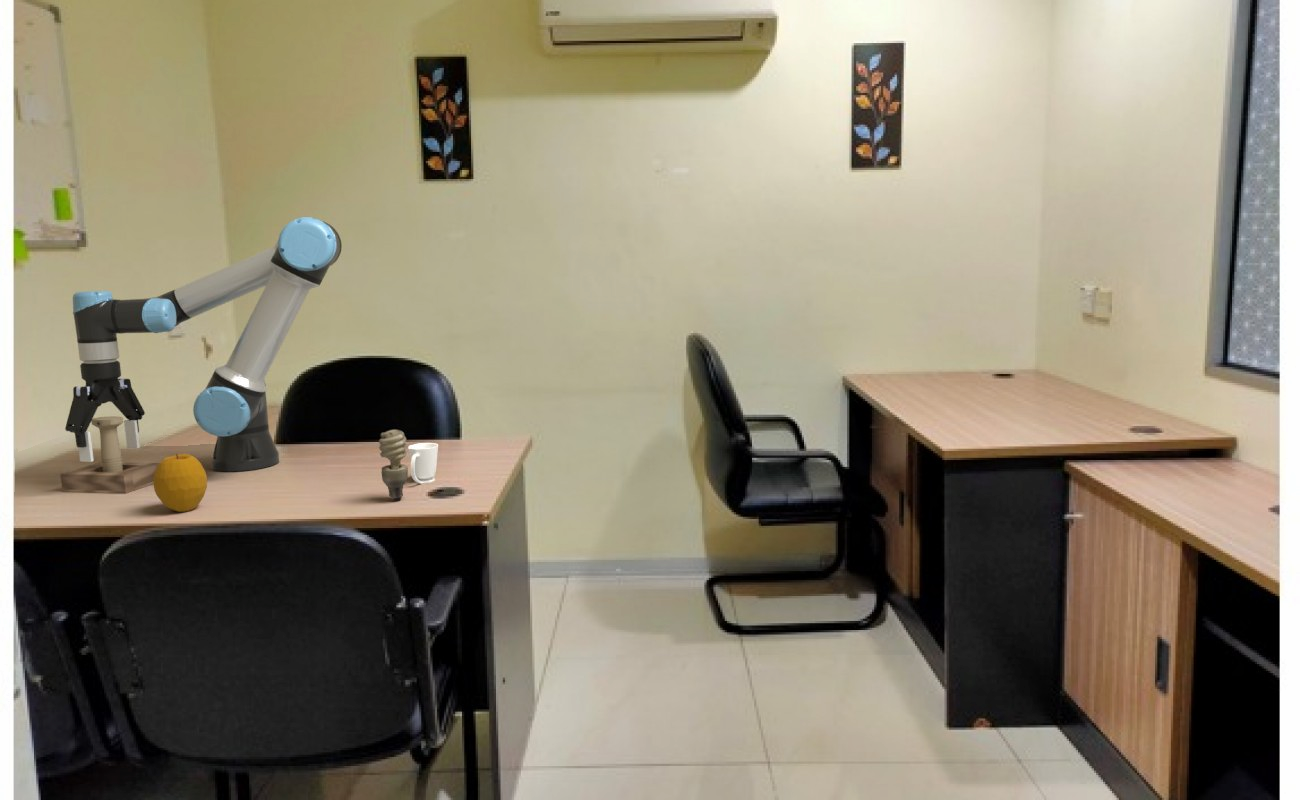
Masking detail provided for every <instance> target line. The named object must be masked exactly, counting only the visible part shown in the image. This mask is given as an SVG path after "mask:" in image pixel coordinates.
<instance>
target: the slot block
mask: <svg viewBox="0 0 1300 800" xmlns="http://www.w3.org/2000/svg"><path fill="white" fill-rule="evenodd" d="M159 463H160V462H135V461H134V462H133V461H128V462H127V461H122V466H123V471H120V472H117V473H113V472H103V471H104V470H103V467H102V461H100V462H95V463H94V464H91V465H86V466H82V467H80V468H79V467H78V468H76V469H73V470H70V471H69V470H68V471H67V472H63V473H60V474H59V476H60V483H61V491H62V492H63V493H64V492H66V493H68V492H69V493H71V492H72V493H94V494H95V493H97V494H98V493H99V494H128V493H132V492H135V491H136V490H139V489H143V488H146V487H148V486H151V485H154V484H153V480H154V474H155V471H156V468H157V466H158V465H159Z"/></svg>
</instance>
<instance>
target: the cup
mask: <svg viewBox="0 0 1300 800" xmlns="http://www.w3.org/2000/svg"><path fill="white" fill-rule="evenodd" d="M407 449H408V453H409V458H410V474H411V477H412V480H414V482H415V483H417V484H420V485H421V484H429V483H433V482H435V480H436V479H435V476H436V471H437V465H438V464H437V463H438V453H439V443H434V442H422V443H421V442H420V443H418V442H417V443H415V444H410V445H408V448H407Z"/></svg>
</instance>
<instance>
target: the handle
mask: <svg viewBox="0 0 1300 800" xmlns="http://www.w3.org/2000/svg"><path fill="white" fill-rule="evenodd" d="M123 423H124V417H122V416H116V415H115V416H111V415H110V416H100V417H99V416H98V417H93V419H92V421H91V425H92V426H94V427H95V428H98V429H99V436H100V453H101V454H100V457H101V462H102V467H103V470H104V471H103V472H113V473H117V472H120V471H123V466H122V462H123V458H122V452H121V446H120V441H119V435H118V427H119V426H120V425H122V424H123Z"/></svg>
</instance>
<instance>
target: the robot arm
mask: <svg viewBox="0 0 1300 800" xmlns="http://www.w3.org/2000/svg"><path fill="white" fill-rule="evenodd" d="M278 235H279V236H278V239H277V240H276V243H275V246H272V247H270V248H268V249H265V250H264V251H261V252H258V253H256V254H253V255H252V256H249V257H246V258H244V259H242V260H240V261H237V262H234V263H233V264H231V265H228V266H226V267H223V268H221V269H219V270H216V271H214V272H213V273H209V274H207V275H205V276H203V277H200V278H198V279H196V280H193V281H191V282H188V283H186V284H185V285H183V286H180V287H177V288H175V289H173V290H169V291H168V292H165V293H163V294H161V295H158V296H156V297H148V298H134V299H133V298H132V299H117V298H116V299H115V298H114V297H113V295H112V294H113V293H112V292H111V291H108V290H103V291H102V290H98V291H97V290H95V291H93V290H92V291H89V290H87V291H76V292H75V293H73V294H72V309H73V312H72V314H73V319H74V326H75V327H74V328H75V331H76V332H75V333H76V338H77V339H76V341H77V347H78V349H77V350H78V356H79V361H81V363H80V364H79V369H80V374H81V379H82V380H83V381H85V386H74V387H73V389H72V390H73V392H72V393H73V397H72V401H71V405H70V409H69V413H68V416H67V421H66V425H65V429H64V430H65V431H66V432H70V433H74V437H75V443H76V448H78V455H79V462H84V463H85V462H86V463H92V462H95V460H94V452H93V445H92V444H93V443H92V437H91V432H90V431H88V428H89V427H90V424H92V422H91V421H92V419H93V418H94V416H95V415H96V413H97V410H98V407H100V406H102V404H106V403H109V402H110V403H112V404H113V405H114V406H115V408H117V409H118V411H119V412H120V413H121V414H122V415H123V416H124V417H125V418H126V420H123V423H124V432H125V440H126V442H125V443H126V448H127V449H140V447H141V446H140V439H139V438H140V437H139V433H140V427H139V421H140V420H142V419H143V416H144V415H145V413H146V412H145V410H144V408H143V406H142V405H141V402H140V401H139V399H138V396H137V395H136V393H135V392H134V391H135V390H134V389H133V388H132V383H131V379H130V378H121V376H122V371H121V370H122V369H121V362H120V361H119V360H117V359H120V351H119V343H118V338H117V334H147V333H148V334H149V333H150V334H151V333H154V334H159V333H168V332H172V331H173V330H175V327H177V326H179V325H180V324H181V323H183V322H186V321H188V320H191V319H192V318H194V317H196V316H199V315H201V314H204V313H207V312H209V311H211V310H213V309H215V308H217V307H220V306H222V305H225V304H226V303H229V302H231V301H233V300H236V299H239V298H240V297H243V296H245V295H247V294H250V293H252V292H255V291H257V290H259V289H261V288H264V289H263V291H262V293H261V295H260V297H259V298H258V301H257V303H256V304H255V307H254V308H253V311H252V313H251V315H250V317H249V318H248V320H247V323H246V324H245V327H244V328H243V330H242V332H241V334H240V337H239V339H238V340H237V342H236V344H235V346H234V348H233V350H232V352H231V353H230V356H229V358H228V360H227V362H226V364H224V365H221V366H219V367H216V368H215V369H214V372H213V373H212V375H211V377H210V380H209V381H208V383H207V385H206V387H205V389H203V390H202V391H201V392H199V394H198V395H197V396H196V398H195V400H194V403H193V409H192V411H193V412H192V413H193V417H194V419H195V422H196V424H197V425H198V426H199V427H200V429H202V430H204V431H205V433H208V434H210V435H212V436H215V437H216V442H215V446H214V450H213V454H212V457H211V466H212V470H214V471H219V472H245V471H252V470H258V469H265V468H268V467H271V466H274V465H277V464H279V462H280V453H279V451H278V449H277V447H276V446H277V445H276V444H275V441H274V440H273V437H272V435H271V433H270V426H269V425H270V424H269V414H268V405H267V404H268V403H267V393H266V392H267V386H266V385H267V384H266V382H265V378H266V376H267V375H268V372H269V371H270V368H271V366H272V364H273V362H274V360H275V358H276V356H277V354H278V353H279V350H280V349H281V347H282V345H283V342H285V341H284V340H286V336H287V334H288V333H289V331H290V329H291V327H292V325H293V323H294V321H295V320H296V317H297V316H298V313H299V311H300V310H301V307H302V305H303V304H304V301H305V300H306V298H307V296H308V294H309V292H310V290H312V289H314V288H318V287H320V286H321V284H322V282H323V280H324V279H325V276H326V274H327V273H328V270H329V268H330V267H331V266H333V265H334V264H335V263H336V262H337V260H338V259H339V257H340V255H341V253H342V249H343V248H342V240H341V237H340V235H339V233H338V231H337V230H336V229H335V227H333V226H332V225H331V224H330V223H327V222H325V221H322V220H320V219H317V218H315V217H310V216H309V217H307V216H305V217H298V218H296V219H293V220H291V221H290V222H288V223H287V224H286V225H285V226H284V227H283V228H282V230H281V231H280V233H279V234H278Z"/></svg>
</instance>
